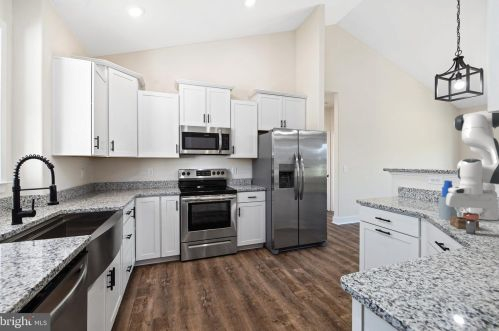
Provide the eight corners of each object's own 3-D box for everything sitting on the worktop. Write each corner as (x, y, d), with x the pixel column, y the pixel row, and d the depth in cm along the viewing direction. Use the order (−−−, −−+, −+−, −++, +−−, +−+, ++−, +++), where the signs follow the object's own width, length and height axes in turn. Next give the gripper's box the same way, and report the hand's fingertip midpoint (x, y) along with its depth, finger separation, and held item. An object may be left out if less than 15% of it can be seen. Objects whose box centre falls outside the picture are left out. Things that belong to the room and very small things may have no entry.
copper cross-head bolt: (466, 234, 117) (466, 213, 116) (460, 231, 122) (460, 211, 122) (481, 236, 114) (481, 214, 114) (474, 232, 120) (474, 212, 120)
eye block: (450, 224, 135) (450, 216, 134) (469, 225, 131) (469, 217, 131) (458, 229, 126) (458, 220, 126) (478, 230, 123) (478, 221, 123)
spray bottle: (437, 216, 153) (437, 179, 153) (453, 217, 150) (454, 180, 149) (441, 219, 145) (441, 181, 144) (459, 221, 141) (460, 181, 141)
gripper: (492, 189, 117) (492, 215, 118) (444, 188, 124) (444, 213, 124) (501, 191, 111) (501, 219, 112) (450, 190, 118) (449, 216, 119)
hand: (470, 216), depth 118 cm, fingers open, 8 cm apart
